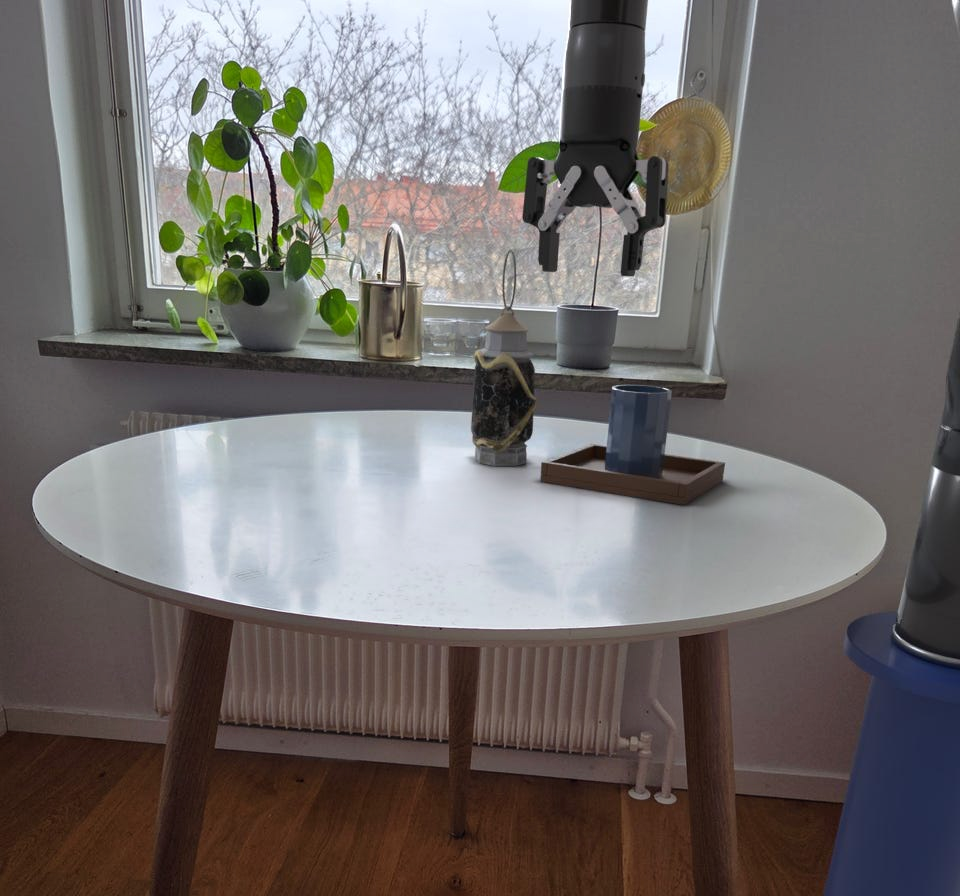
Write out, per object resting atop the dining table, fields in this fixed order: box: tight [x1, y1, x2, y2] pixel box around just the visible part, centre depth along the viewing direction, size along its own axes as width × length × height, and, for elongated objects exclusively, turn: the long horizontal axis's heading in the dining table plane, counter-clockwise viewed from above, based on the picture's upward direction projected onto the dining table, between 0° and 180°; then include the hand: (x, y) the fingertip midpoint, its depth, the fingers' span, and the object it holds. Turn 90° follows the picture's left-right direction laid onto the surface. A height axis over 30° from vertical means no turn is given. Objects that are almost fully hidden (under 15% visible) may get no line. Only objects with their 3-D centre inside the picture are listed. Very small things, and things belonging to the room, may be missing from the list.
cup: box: [605, 384, 673, 479], centre depth 110 cm, size 7×7×10 cm
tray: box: [539, 443, 726, 506], centre depth 111 cm, size 18×15×2 cm
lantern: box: [470, 249, 537, 467], centre depth 115 cm, size 9×8×25 cm
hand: (588, 274), depth 94 cm, fingers open, 8 cm apart
